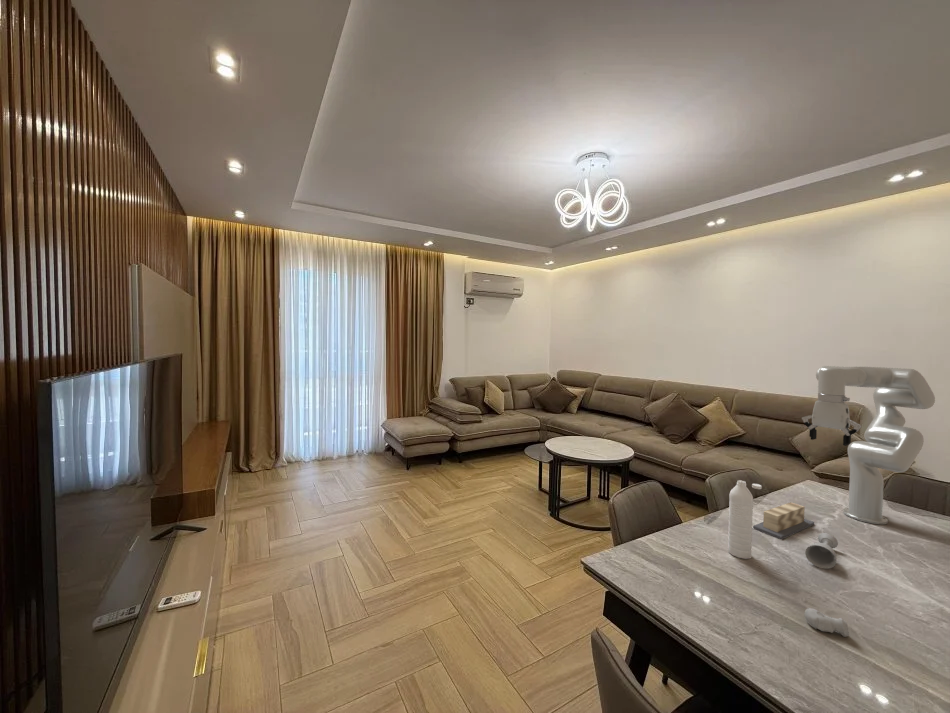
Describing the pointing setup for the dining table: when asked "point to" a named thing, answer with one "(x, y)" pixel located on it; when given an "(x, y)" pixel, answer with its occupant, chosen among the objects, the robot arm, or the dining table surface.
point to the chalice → (823, 551)
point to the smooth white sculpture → (826, 622)
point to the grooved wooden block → (783, 516)
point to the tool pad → (786, 531)
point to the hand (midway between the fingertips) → (829, 442)
